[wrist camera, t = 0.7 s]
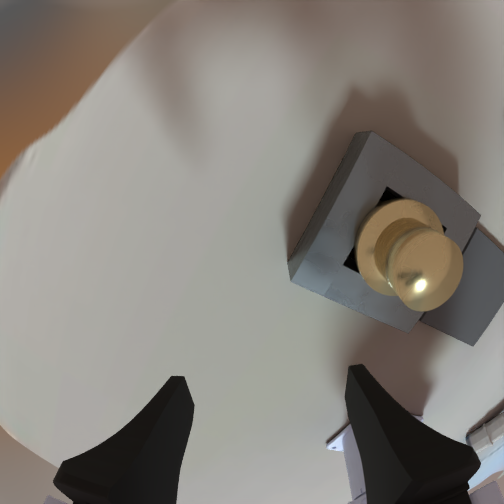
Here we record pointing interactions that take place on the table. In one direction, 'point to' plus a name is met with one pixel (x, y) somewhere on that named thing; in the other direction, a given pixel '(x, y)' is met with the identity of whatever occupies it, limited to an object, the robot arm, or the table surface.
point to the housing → (353, 214)
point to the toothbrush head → (487, 434)
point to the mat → (472, 292)
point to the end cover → (408, 254)
